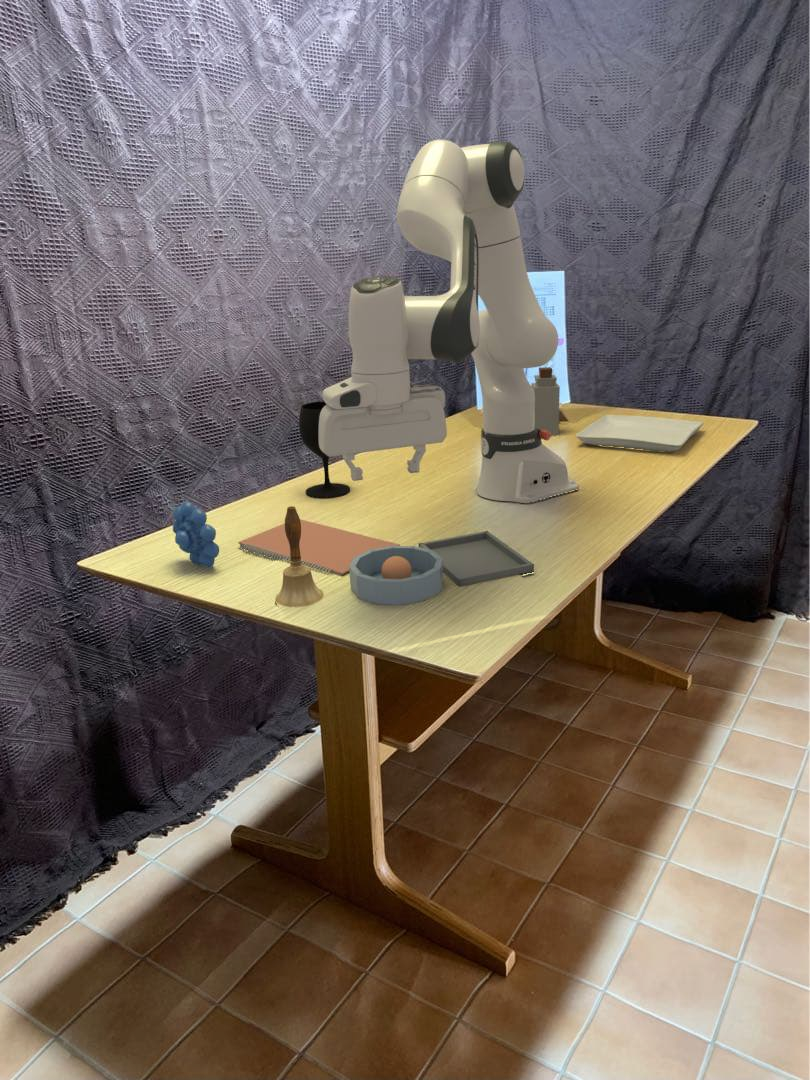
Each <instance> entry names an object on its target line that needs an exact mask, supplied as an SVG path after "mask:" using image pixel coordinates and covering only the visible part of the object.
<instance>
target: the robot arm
mask: <svg viewBox="0 0 810 1080" xmlns="http://www.w3.org/2000/svg"><path fill="white" fill-rule="evenodd" d="M407 171H408V172H407V175H406V176H405V179H404V182H403V185H402V188H401V192H400V196H399V199H398V205H397V210H396V222H397V225H398V227H399V230H400V232H401V234H402V236H403V237H404V239H406V240H407V242H408V243H410V245H412V247H414V248H416V249H417V250H419V251H420V252H423V253H424V254H428V255H431V256H435V257H438V258H442V259H444V260H446V261H447V262H450V263H451V264H450V284H449V285H450V288H449V291H447V292H445V293H443V294H438V295H405V292H404V288H403V284H402V281H401V280H400V279H399V278H398V277H394V276H392V275H391V276H390V275H377V276H371V277H366V278H362V279H360V280H357V281H356V282H355V283H353V284H352V285H351V288H350V293H349V304H348V337H349V338H348V339H349V344H350V347H351V350H352V363H351V367H350V370H351V374H350V375H351V377H349V378H346V379H344V380H342V381H340V382H337V383H335V384H333V385H331V386H328V387H326V388H324V389H323V390H322V399H323V400H322V401H324V402H325V403H326V404H327V405H325V406H324V407H323V408H322V410H321V412H320V417H319V447H320V449H321V450H322V452H323V453H325V454H326V455H327V456H330V457H338V456H342V459H343V461H344V462H345V463H346V465H347V466H348V468H349V469H350V477H351V480H352V481H353V482H356V481H363V479H364V477H363V473H364V472H363V469H362V468H361V467H360V466H357V467H356V466H355V463H353V461H355V460H356V458H355V456H356V454H360V453H368V452H370V453H371V452H377V451H383V450H392V449H400V448H410V447H413V450H415V452H414V453H413V456H412V457H411V459H410V460H409V459H408V460H407V461H406V464H407V467H406V468H407V471H408V473H410V474H416V473H419V472H420V463H421V461H422V459H423V457H424V456H425V454H426V451H427V448H426V445H431V444H441V443H443V442H444V441H445V439H446V438H447V436H448V431H447V430H448V429H447V423H446V422H447V421H446V416H445V409H444V408H445V406H446V394H445V393H446V392H445V391H444V389H443V388H442V387H441V386H439V385H437V383H427V384H416V385H415V384H414V385H411V380H410V378H411V376H410V372H411V371H410V363H409V360H437V361H442V362H449V363H452V362H453V363H460V362H463V360H465V359H467V358H468V357H469V356H470V355H471V357H472V359H473V361H474V365H475V369H476V372H477V376H478V380H479V384H480V390H481V397H482V399H481V400H482V428H481V431H480V432H481V433H480V448H481V449H480V451H481V455H482V459H481V467H480V474H479V480H478V484H477V488H476V491H475V492H476V493H477V495H478V496H480V497H482V498H484V499H488V500H491V501H501V502H503V501H504V502H516V503H522V504H531V503H530V502H532V503H535V502H534V501H536V502H538V501H537V500H540V499H543V500H545V499H544V498H547V499H549V498H548V497H550V496H554V495H558V494H561V493H565V492H569V491H572V490H576V489H578V490H579V484H578V482H577V481H576V480H575V479H573V478H572V477H569V474H568V468H567V465H566V462H565V460H564V459H563V458H562V457H561V456H559V455H558V454H556V452H554V451H552V450H551V449H550V448H548V447H547V446H546V445H544V444H543V442H542V440H544V441H549V440H550V439H551V438H552V436H551V435H550V434H551V433H549V431H546V430H542V431H541V430H540V429H538V428H536V427H535V394H534V390H533V388H532V387H531V384H530V382H529V381H528V378H527V375H526V373H525V369H531V368H532V369H533V368H540V367H542V366H543V367H544V365H546V364H548V363H549V362H550V361H551V360H552V359H553V358H554V356H555V354H556V352H557V350H558V346H559V333H558V330H557V328H556V326H555V325H554V324H553V322H552V321H551V320H550V319H549V318H548V317H547V316H546V314H545V313H544V311H543V309H542V307H541V306H540V303H539V301H538V299H537V297H536V293H535V292H534V290H533V289H534V288H532V285H531V282H530V279H529V275H528V272H527V267H526V266H527V265H526V259H525V255H524V249H523V248H524V247H523V244H522V237H521V232H520V225H519V221H518V216H517V212H516V209H515V206H514V202H515V201H516V200H517V199H519V196H520V195H521V193H522V191H523V189H524V187H525V186H524V185H525V166H524V161H523V158H522V154H521V152H520V151H519V149H518V148H517V147H516V145H514V144H513V143H512V142H510V141H504V140H496V141H491V142H490V143H481V144H475V145H474V144H473V145H468V146H467V145H466V146H463V147H460V146H459V145H458V144H456V143H454V142H453V141H450V140H447V139H434V140H431V141H428V142H427V143H426V144H424V145H423V146H422V147H421V148H420V149H419V151H418V152H417V154H416V156H415V158H414V160H413V161H412V163H411V165H410V167H409V170H407ZM479 298H480V300H481V301H482V303H483V304H484V306H485V307H484V308H485V309H483V310H479ZM330 457H329V458H330ZM558 496H559V495H558ZM540 501H541V500H540Z"/></svg>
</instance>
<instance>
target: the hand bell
mask: <svg viewBox="0 0 810 1080" xmlns="http://www.w3.org/2000/svg"><path fill="white" fill-rule="evenodd" d="M297 511H298V510H297V509H296V507H295V506H288V507H287V508H286V514H285V518H284V523H285V532H286V536H287V539H288V541H289V545H290V556H291V557H290V559H291V564H290V565H289V566H287V567H286V568H284V569H283V572H282V585H281V589H280V590H279V593H278V594H276V596H275V599H274V600H275V603H274V605H275V604H276V605H279V606H283V607H288V608H301V607H302V608H303V607H307V606H308V607H309V606H311V605H313V604H316V603H318V602H320V601H321V600H322V599H323V598H324V595H325V593H324V592H323V590H322V589H321V588H319V587H318V586H317V584H316V583H315V581H314V578H313V575H312V569H311V570H310V567H308V566H306V565H302V564H301V556H300V547H299V543H300V537H301V522H300V519H301V518H300V516H299V514H298V512H297ZM276 605H275V606H276Z"/></svg>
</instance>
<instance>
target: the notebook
mask: <svg viewBox="0 0 810 1080" xmlns="http://www.w3.org/2000/svg"><path fill="white" fill-rule="evenodd" d="M300 522H301V537H300V543H299V547H300V556H301V564H302V565H306V566H308V567H309V568H310V570H311V571H313V572H314V571H315V572H316V573H320V571H321V573H320V574H323V573H324V575H327V576H329V574H333V575H337V576H340V577H342V576H343V575H346V574H347V573H350V571H349V566H350V564H351V562H352V561H353V559H354V557H356V556H358V555H360V554H362V553H364V552H366V551H368V550H371V549H377V548H382V547H388V546H401V544H399V543H396V542H391V541H387V540H383V539H380V538H375V537H372V536H367V535H363V534H361V533H355V532H351V531H348V530H344V529H340V528H336V527H332V526H329V525H324V524H322V523H321V524H320V523H317V522H312V521H308V520H304V519H301V518H300ZM237 544H239V547H240V548H242V549H241V550H242V551H243V553H244V552H245V553H246V554H249V555H251V554H252V556H254V555H255V556H256V557H258V558H260V557H263V558H265V560H267V559H268V560H269V561H272V562H275V561H281V562H283V563H286V562H287V564H290V565H291V559H290V557H291V556H290V545H289V541H288V539H287V536H286V532H285V522H284V523H282V524H280V525H277V526H274V527H272V528H270V529H267V530H265V531H262V532H259V533H258V534H255V535H253V536H249V537H247V538H245V539H242V540H240V541H238V542H237ZM244 549H245V550H244ZM246 550H248V551H246ZM254 552H255V553H254ZM257 553H258V555H257ZM260 554H261V555H260ZM264 555H265V556H264ZM267 556H268V557H267ZM270 557H271V558H270ZM317 571H318V572H317Z"/></svg>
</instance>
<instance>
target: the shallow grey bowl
mask: <svg viewBox="0 0 810 1080" xmlns="http://www.w3.org/2000/svg"><path fill="white" fill-rule="evenodd" d="M393 556H400V557H403V558H405V559H406V560H407V561H408V562H409V563H410V565H411V569H412V573H411V577H409V578H404V579H383V576H382V566H383V564H384V562H385V561H386V560H387V559H388V558H390V557H393ZM349 581H350V583H349V584H350V589H351V591H352V592H353V594H354V595H355V596H356V598H357V599H359V600H363V601H365V602H369V603H371V604H376V605H387V606H404V605H408V604H409V605H410V604H414V603H419V602H423V601H426V600H428V599H430V598H432V597H434V596H435V595H436V594H438V593H440V592H441V591H442V588H443V584H444V572H443V559H442V558H441V557H440V556H439V555H438V554H436V553H435V552H434V551H432V550H428V549H424V548H420V547H419V546H415V545H400V546H388V547H382V548H377V549H371V550H368V551H366V552H364V553H362V554H360V555H358V556H356V557H354V559H353V561H352V562H351V564H350V566H349Z"/></svg>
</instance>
